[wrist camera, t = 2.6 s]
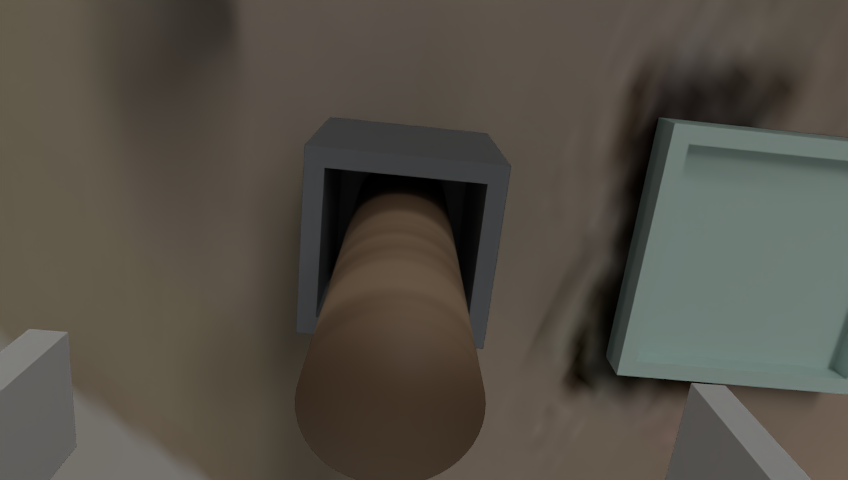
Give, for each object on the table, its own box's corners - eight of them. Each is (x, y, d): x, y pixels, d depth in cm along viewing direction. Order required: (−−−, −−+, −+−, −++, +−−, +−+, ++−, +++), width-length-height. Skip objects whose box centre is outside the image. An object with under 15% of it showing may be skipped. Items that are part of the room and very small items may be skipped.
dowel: (360, 157, 28) (299, 312, 12) (450, 166, 28) (498, 329, 13) (354, 242, 29) (291, 478, 14) (440, 250, 29) (472, 491, 14)
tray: (658, 117, 28) (674, 123, 26) (916, 145, 29) (947, 152, 27) (605, 356, 32) (616, 374, 30) (833, 375, 32) (857, 395, 31)
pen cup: (330, 117, 28) (304, 145, 21) (487, 133, 28) (510, 166, 21) (321, 265, 30) (295, 332, 23) (467, 278, 30) (483, 348, 24)
